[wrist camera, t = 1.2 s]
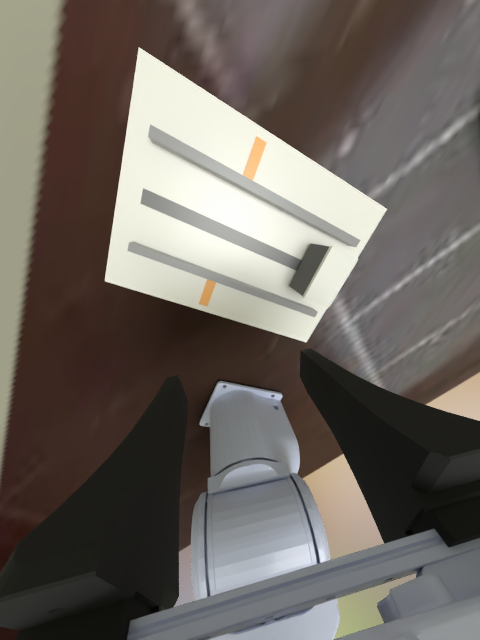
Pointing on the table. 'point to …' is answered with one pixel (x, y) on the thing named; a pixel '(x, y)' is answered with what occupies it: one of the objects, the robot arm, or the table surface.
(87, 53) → the table surface
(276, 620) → the robot arm
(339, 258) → the fader tab
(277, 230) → the console
